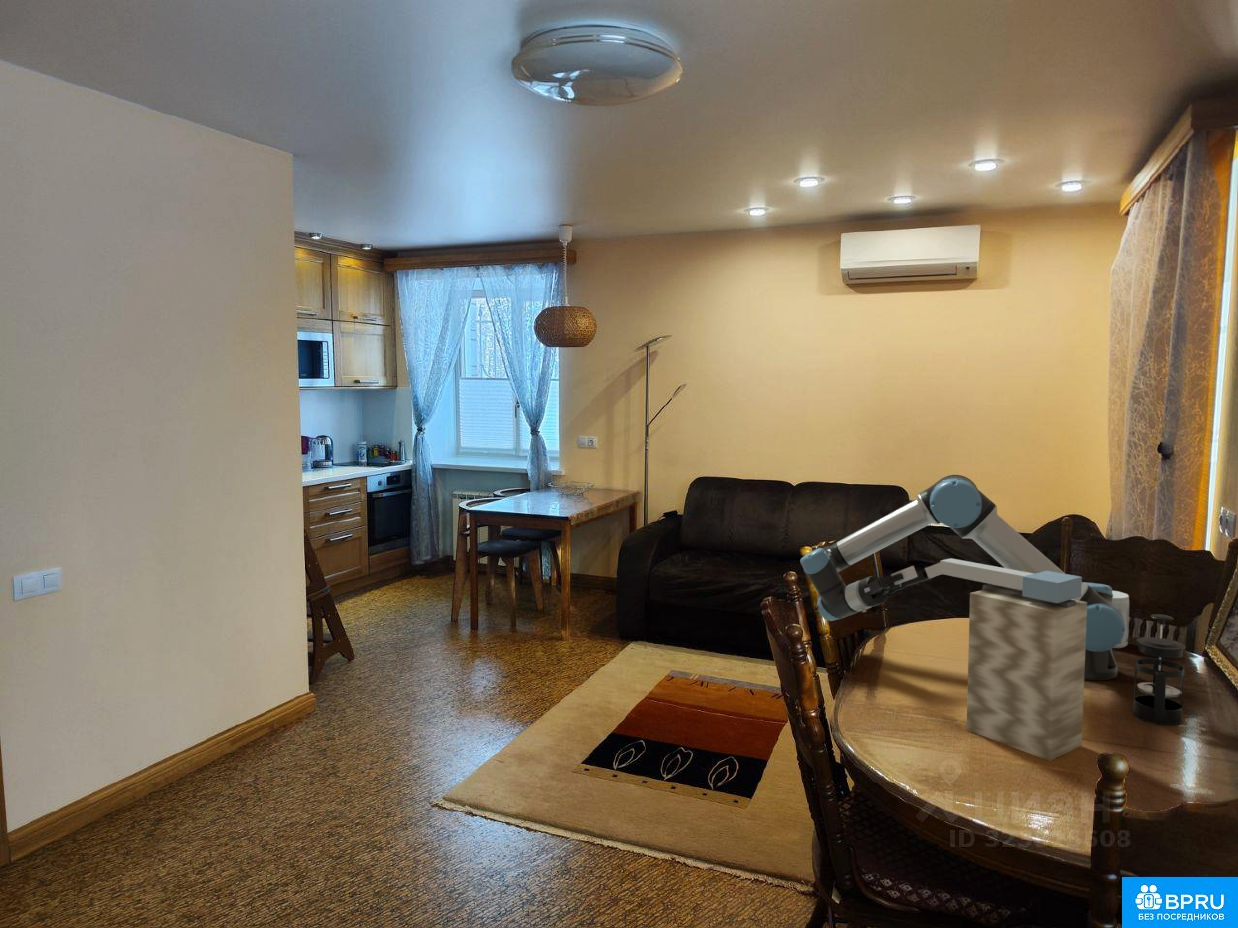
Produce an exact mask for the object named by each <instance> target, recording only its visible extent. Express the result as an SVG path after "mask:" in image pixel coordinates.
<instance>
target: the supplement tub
mask: <svg viewBox="0 0 1238 928" xmlns="http://www.w3.org/2000/svg"><path fill="white" fill-rule="evenodd" d="M1112 594H1113V597H1112V605H1113V606H1114V607H1115V609H1116V610H1117V611H1118V612H1119V613H1120V614H1121V615H1122V618H1123V620H1124V624H1125V633H1124V637H1123V639H1122V640H1121V642H1120V643H1119V644H1118V645H1117V646H1115V647H1114V648H1113V649H1122V648H1125V647H1127V646H1128V644H1129V624H1130V623H1129V621H1130V620H1129V617H1130V595H1129V594H1128V593H1125V592H1122V591H1118V590H1112Z"/></svg>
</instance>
